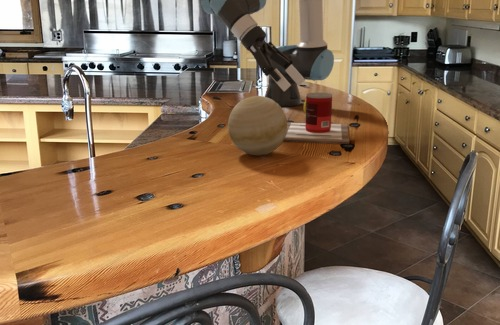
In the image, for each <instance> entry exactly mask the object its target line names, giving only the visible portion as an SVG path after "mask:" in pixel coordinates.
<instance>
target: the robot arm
mask: <svg viewBox="0 0 500 325" xmlns="http://www.w3.org/2000/svg"><path fill="white" fill-rule="evenodd" d="M266 3H267V0H200V4H201V5H200V6H201V7H202V10H203V12H204V13H206V14H208V15H215V16H217V17H218V19H220V20H221V22H222V23H223V24H224V25H225V27H227V28H228V29H229V31H230V32H231V33H232V34H233V35H232V36H233V37H234V38H237V40H238V41H240V42H241V43H240V44H241V45H242V46H243V47H244V48H245V50H247V51H248V52H250V53H251V55H252V56H253V57H254V60H255V61H256V63H257V65H258V67H259V68H260V70H261V72H262V73H263V74H264V76H265V77H268V84H267V88H266V91H265V95H264V97H267V98H270V99H272V100H273V101H275V102H276V103H278V104H279V106H280V107H293V106H300V105H301V104H302V97H301V92H300V91H299V86H300V85H301V84H303V83H304V82H305V81H307V80H308V81H313V82H315V81H324V80H326V79H327V78H328V77H329V76H330V75H331V72H332V71H333V68H334V63H335V56H334V53H333V51H332V50H330V49H328V43H327V42H326V41H325V40H324V20H323V19H324V18H323V16H324V15H323V13H324V12H323V10H324V9H323V0H298V6H299V7H298V8H299V10H298V11H299V33H300V34H299V35H300V39H299V42H298V43H297V44H291V45H281V46H279V45H278V46H275V45H274V43H272V41H269V42H266V40H265V39H266V37H267V33H266V31H265V30H263V28H262V27H261V26H259V25H258V22H257V21H256V20H255V19H254V17H252V16H251V15H253V14H255V13H258V12H259V11H261V10H263V9H264V8H265V6H266V5H267V4H266Z"/></svg>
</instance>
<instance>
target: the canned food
mask: <svg viewBox="0 0 500 325" xmlns="http://www.w3.org/2000/svg"><path fill="white" fill-rule="evenodd" d="M305 100H306V115H305V122H304V123H305V128H306V131H308V132H313V133H325V132H329V131H330V129H331V123H332V114H333V113H332V111H333V94H332V93H330V92H329V93H328V92H309V93H306V96H305Z"/></svg>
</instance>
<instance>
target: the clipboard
mask: <svg viewBox="0 0 500 325" xmlns="http://www.w3.org/2000/svg"><path fill="white" fill-rule="evenodd" d="M305 123H306V122H303V121H302V122H300V121H299V122H297V121H287V133H286V136H285V138H284V140H283V142H285V143H310V144H313V143H314V144H335V143H339V144H341V145H350V137H349V129H348V128H349V127H348V123H336V122H335V123H332V122H331V129H330V131H329V132H325V133H313V132H308V131H306V128H305ZM283 142H282V143H283Z"/></svg>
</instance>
